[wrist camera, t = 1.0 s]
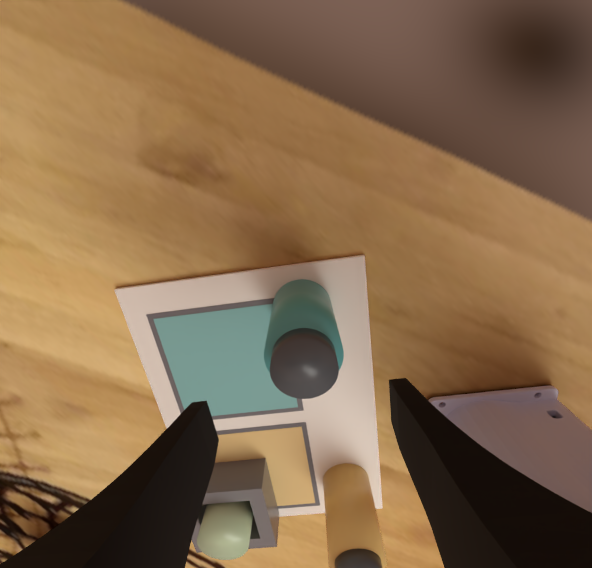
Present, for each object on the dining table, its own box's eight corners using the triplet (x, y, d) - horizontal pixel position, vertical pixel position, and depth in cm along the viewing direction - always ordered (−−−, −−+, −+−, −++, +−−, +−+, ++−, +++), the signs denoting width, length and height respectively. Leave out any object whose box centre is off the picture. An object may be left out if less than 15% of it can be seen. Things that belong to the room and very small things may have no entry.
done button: (250, 482, 25) (243, 524, 22) (258, 514, 27) (253, 558, 24) (203, 486, 26) (190, 528, 23) (214, 518, 27) (204, 561, 24)
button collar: (266, 454, 26) (261, 488, 23) (279, 509, 28) (277, 546, 26) (187, 461, 26) (173, 496, 24) (207, 515, 29) (196, 552, 26)
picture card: (363, 254, 20) (364, 255, 19) (381, 504, 28) (382, 508, 28) (116, 288, 21) (113, 290, 21) (203, 519, 29) (202, 523, 29)
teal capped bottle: (327, 275, 20) (343, 327, 13) (333, 328, 21) (350, 400, 15) (268, 283, 20) (253, 339, 13) (278, 335, 22) (269, 409, 15)
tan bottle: (367, 461, 26) (390, 564, 19) (370, 494, 27) (393, 601, 20) (320, 465, 26) (327, 569, 19) (325, 497, 27) (333, 604, 21)
